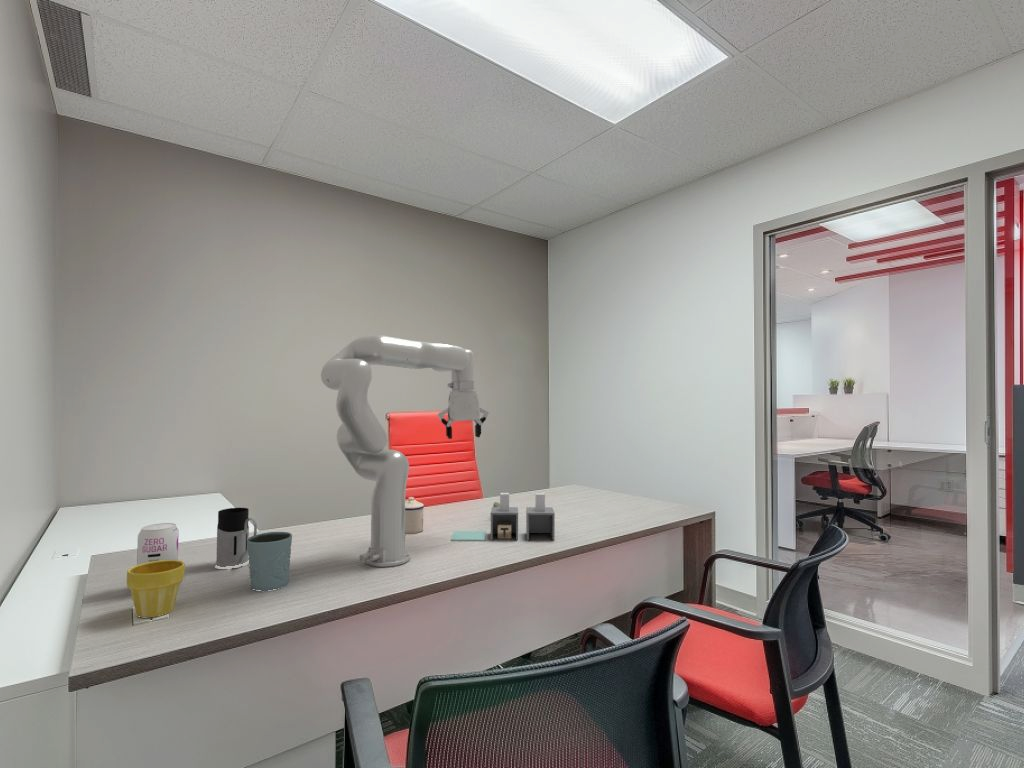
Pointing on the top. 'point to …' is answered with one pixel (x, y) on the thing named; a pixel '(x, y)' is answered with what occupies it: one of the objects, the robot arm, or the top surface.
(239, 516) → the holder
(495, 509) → the cover
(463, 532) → the mat
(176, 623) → the top surface
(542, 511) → the cover
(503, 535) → the letter cube
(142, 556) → the supplement can
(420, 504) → the teacup with lid
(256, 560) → the teal cup
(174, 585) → the plant pot
